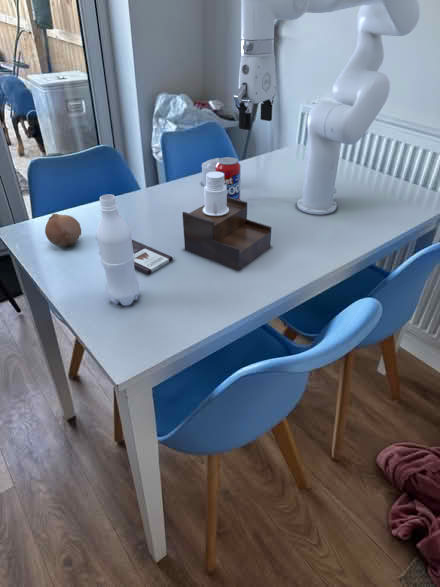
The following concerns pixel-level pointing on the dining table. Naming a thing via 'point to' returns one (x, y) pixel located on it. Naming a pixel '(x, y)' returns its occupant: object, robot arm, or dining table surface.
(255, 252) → the spice shelf
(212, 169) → the lumpy-topped squat cylinder
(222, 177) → the downlight
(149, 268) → the chocolate bar
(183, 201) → the dining table surface
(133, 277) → the water bottle
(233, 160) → the soda can
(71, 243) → the brown coconut
